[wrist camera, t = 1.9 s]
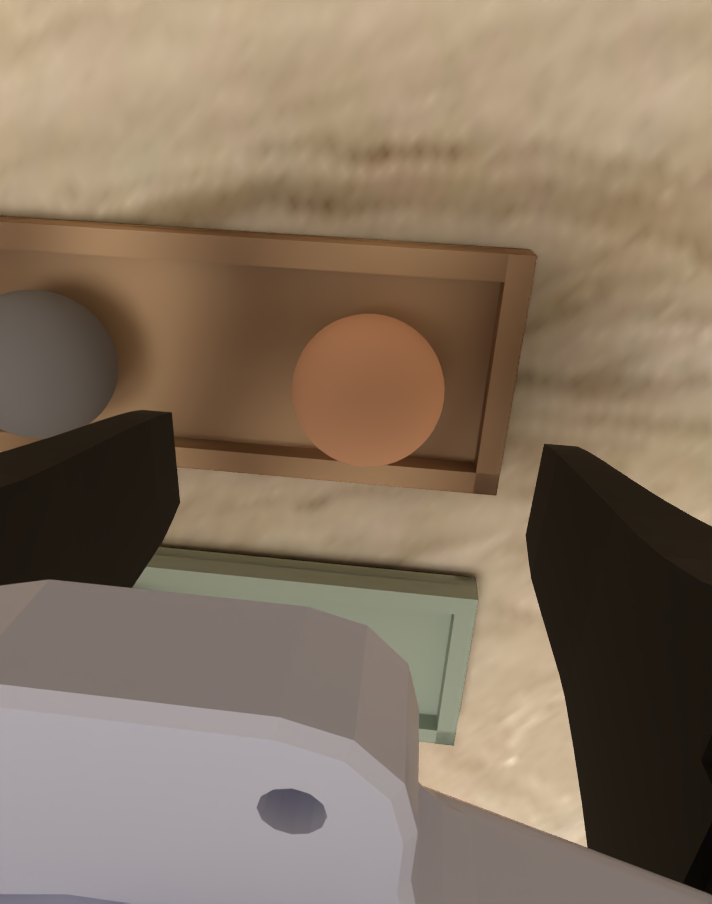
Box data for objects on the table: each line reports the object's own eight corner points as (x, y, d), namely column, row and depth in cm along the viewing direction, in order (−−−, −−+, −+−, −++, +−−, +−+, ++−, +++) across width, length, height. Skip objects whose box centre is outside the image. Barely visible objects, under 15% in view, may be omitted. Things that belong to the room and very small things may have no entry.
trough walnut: (-15, 432, 21) (-39, 447, 20) (-67, 211, 18) (-99, 215, 17) (492, 476, 20) (496, 495, 19) (529, 249, 17) (537, 255, 16)
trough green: (42, 673, 26) (25, 696, 25) (8, 532, 23) (-12, 551, 22) (452, 719, 25) (453, 745, 24) (475, 577, 22) (478, 600, 20)
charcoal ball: (25, 401, 20) (-64, 456, 16) (-1, 272, 18) (-107, 302, 14) (147, 411, 19) (85, 469, 16) (133, 281, 18) (60, 314, 14)
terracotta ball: (304, 424, 19) (278, 487, 16) (306, 293, 17) (276, 330, 14) (434, 435, 19) (437, 501, 15) (449, 304, 17) (457, 343, 14)
